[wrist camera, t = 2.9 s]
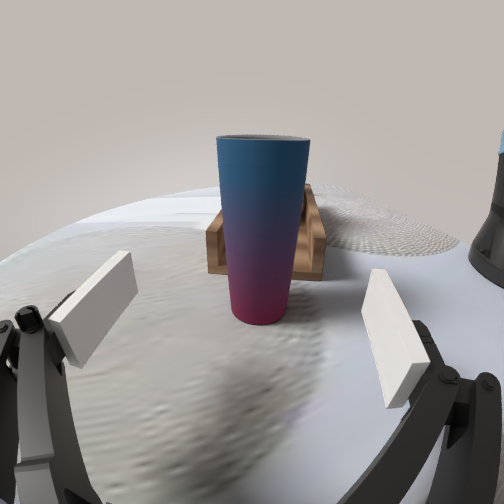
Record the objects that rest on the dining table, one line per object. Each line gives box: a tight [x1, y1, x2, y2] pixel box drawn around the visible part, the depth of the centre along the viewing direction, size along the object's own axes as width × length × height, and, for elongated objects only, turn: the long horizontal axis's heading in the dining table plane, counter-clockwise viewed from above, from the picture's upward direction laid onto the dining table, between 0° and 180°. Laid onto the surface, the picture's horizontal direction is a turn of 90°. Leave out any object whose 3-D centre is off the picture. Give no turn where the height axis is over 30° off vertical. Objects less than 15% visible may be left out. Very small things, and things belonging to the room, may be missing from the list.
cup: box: [216, 135, 310, 325], centre depth 23 cm, size 7×7×15 cm
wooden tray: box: [206, 184, 327, 281], centre depth 41 cm, size 26×12×7 cm, turn 173°
